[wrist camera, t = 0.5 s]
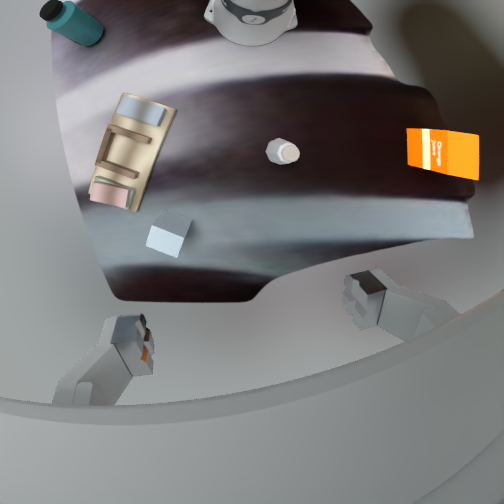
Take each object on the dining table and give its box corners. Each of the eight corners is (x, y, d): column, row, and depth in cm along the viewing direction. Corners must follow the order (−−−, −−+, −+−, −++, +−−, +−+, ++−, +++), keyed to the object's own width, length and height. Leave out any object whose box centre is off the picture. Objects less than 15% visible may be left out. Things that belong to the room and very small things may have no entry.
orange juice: (407, 164, 55) (466, 180, 36) (406, 128, 51) (466, 131, 33) (430, 165, 55) (488, 181, 37) (429, 130, 52) (489, 136, 33)
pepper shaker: (264, 138, 51) (273, 137, 41) (291, 137, 51) (307, 136, 41) (266, 165, 53) (275, 170, 43) (293, 163, 53) (308, 169, 43)
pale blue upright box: (159, 226, 56) (145, 245, 46) (165, 209, 55) (152, 225, 45) (185, 236, 57) (176, 257, 47) (192, 219, 56) (184, 237, 46)
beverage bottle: (111, 24, 37) (70, -11, 19) (98, 50, 39) (51, 22, 21) (89, 23, 36) (45, -7, 17) (77, 48, 38) (27, 24, 19)
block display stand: (91, 191, 51) (79, 197, 46) (125, 93, 44) (115, 89, 39) (138, 210, 54) (129, 217, 49) (176, 109, 47) (171, 106, 42)
